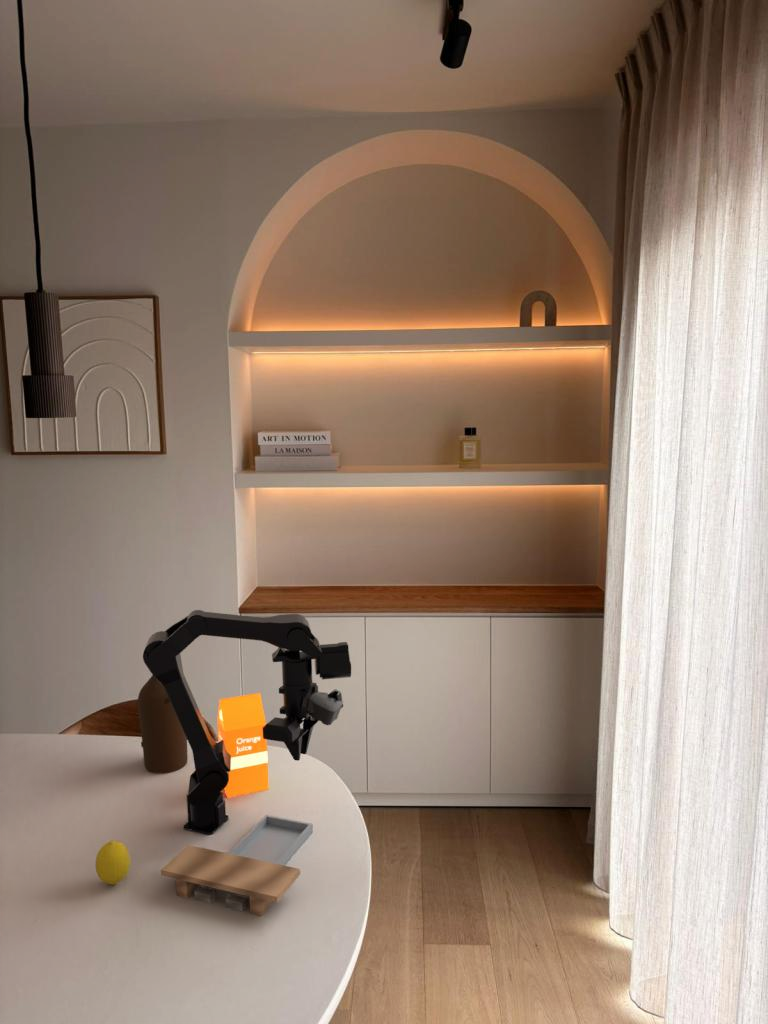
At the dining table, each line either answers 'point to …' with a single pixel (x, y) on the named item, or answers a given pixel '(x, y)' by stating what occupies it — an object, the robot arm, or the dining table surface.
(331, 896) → the dining table surface
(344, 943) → the dining table surface
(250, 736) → the orange juice
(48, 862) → the dining table surface
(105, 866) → the lemon
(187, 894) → the bridge
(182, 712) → the robot arm
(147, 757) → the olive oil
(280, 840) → the grey open tray
